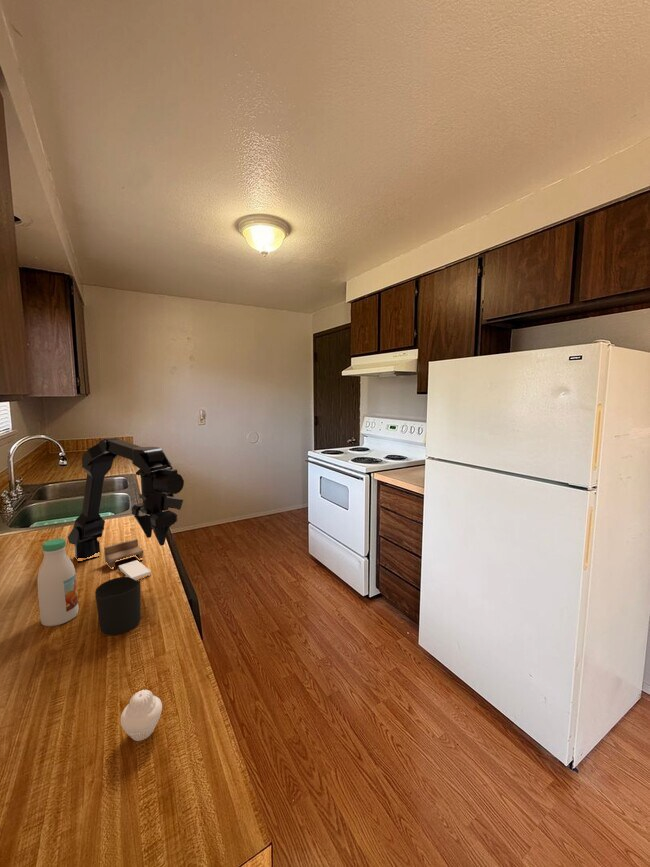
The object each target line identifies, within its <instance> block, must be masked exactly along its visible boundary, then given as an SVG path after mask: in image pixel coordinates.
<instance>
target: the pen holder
mask: <svg viewBox="0 0 650 867" xmlns="http://www.w3.org/2000/svg"><path fill="white" fill-rule="evenodd" d="M94 592H95V593H94V594H95V600H96V609H97V617H98V618H97V619H98V624H99V629H100V633H102V634H103V635H105V636H119V635H123V634H124V633H125V634H126V633H128V632H130V631H132V630H134V628H136V627H137V626H138V625H139V623H140V621H141V620H142V619H141V618H142V616H141V615H142V612H141V609H142V608H141V606H142V604H141V601H142V600H141V598H142V597H141V595H142V594H141V580H138V581H136V580H134V579H132V578H130V577H126V576H120V577H114V578H113V579H109V580H107V581H105V582H102V583H101V584H100V585H98V586H97V588H96V589H95V591H94Z"/></svg>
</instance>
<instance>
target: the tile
mask: <svg viewBox="0 0 650 867" xmlns="http://www.w3.org/2000/svg"><path fill="white" fill-rule="evenodd" d="M119 569H120V570H121V571H122V572H123V573H124V574H125V575H126V576H127V577H130V578H132V579H134V580H136V579H139V578H141V577H144V576H147V575H150V574H151V575H152V570H151V569H150V568H148V567H147V566H145V564H143V563H142V562H139V561H138V560H137V559H136V560H132V561H130V562H126V563H123V564H119V565H118V570H119ZM126 576H125V577H126Z"/></svg>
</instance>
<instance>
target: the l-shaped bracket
mask: <svg viewBox="0 0 650 867" xmlns="http://www.w3.org/2000/svg"><path fill="white" fill-rule="evenodd" d="M103 550H104V560H105V562H107V563H108V565H109V566H110V567H111V568H112V567H115V568H116V563H115V561H116V560H120V559H123V558H126V557H130V556H133V555H136V556H137V557H138V558H139V559H140V558H143V559H144V555H143V553H144V550H143V549H142V548H141V547H140V546H139V541H138V538H134V539H130V540H127V541H122V542H119V543H115V544H112V545H111V544H110V545H107V546H104V549H103Z"/></svg>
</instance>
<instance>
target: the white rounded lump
mask: <svg viewBox="0 0 650 867" xmlns="http://www.w3.org/2000/svg"><path fill="white" fill-rule="evenodd" d="M162 712H163V703H162V700H161V699H160V697H159V696H158V697H157V696H156V695H154V694H153V692H152V691H151V690H148V689H142V690H139V691H138V692H135V694H133V695H132V696H131V698H130V699H129V703H128V704H127V705H126V706H125V707H124V709H123V710H122V713H121V715H120V724H121V727H122V729H123V731H124V732H125V733H126V734H127V736H129V737H130V738H131V739H132V740H133V741H135V742H140V741H141V742H142V741H145V740H146V739H148V738H149V737H150V736H151V735H152V734H153V732H154V730H155V728H156V726H157V725H158V722H159V720H160V718H161V714H162Z"/></svg>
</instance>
